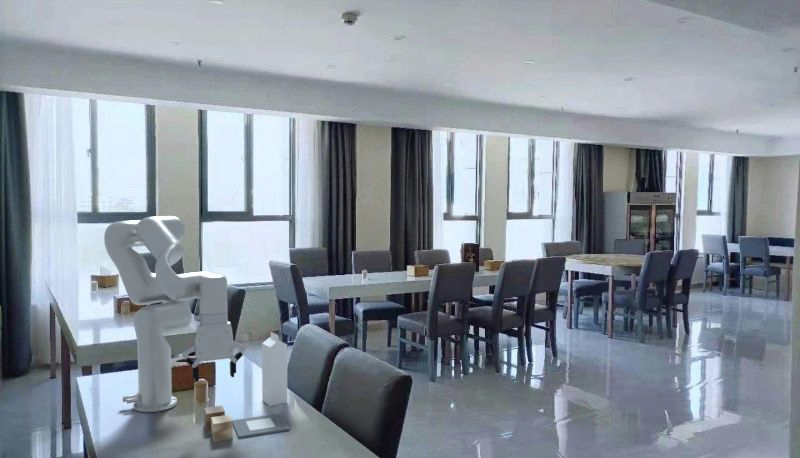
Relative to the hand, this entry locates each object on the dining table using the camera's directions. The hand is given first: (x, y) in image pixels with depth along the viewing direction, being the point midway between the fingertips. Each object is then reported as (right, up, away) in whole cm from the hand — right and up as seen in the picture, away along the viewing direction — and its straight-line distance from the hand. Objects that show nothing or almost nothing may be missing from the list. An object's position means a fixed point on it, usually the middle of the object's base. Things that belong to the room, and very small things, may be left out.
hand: (214, 378), depth 166 cm
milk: (+13, -13, +21) cm, 28 cm away
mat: (+13, -14, +1) cm, 19 cm away
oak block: (+4, -15, -6) cm, 16 cm away
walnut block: (0, -14, +1) cm, 14 cm away
